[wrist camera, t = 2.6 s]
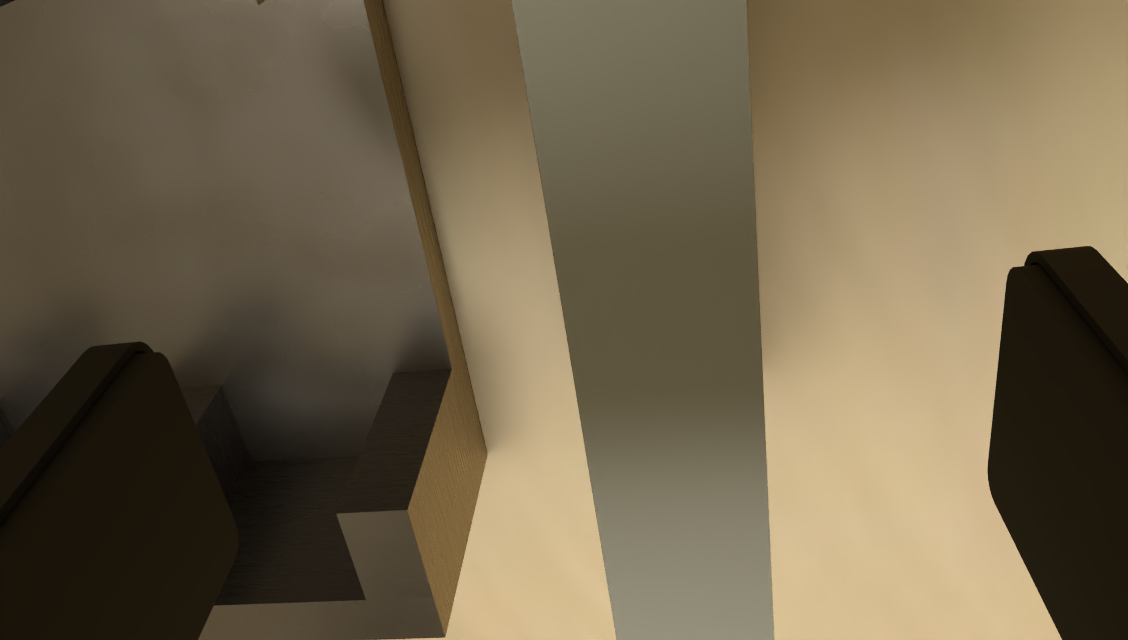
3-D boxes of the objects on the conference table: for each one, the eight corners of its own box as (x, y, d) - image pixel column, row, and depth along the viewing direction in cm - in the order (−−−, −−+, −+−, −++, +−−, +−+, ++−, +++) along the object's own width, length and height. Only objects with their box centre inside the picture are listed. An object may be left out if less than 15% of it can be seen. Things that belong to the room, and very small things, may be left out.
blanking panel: (699, -232, 14) (738, -182, 8) (737, 379, 20) (777, 720, 13) (565, -210, 15) (487, -145, 8) (639, 386, 20) (630, 723, 14)
